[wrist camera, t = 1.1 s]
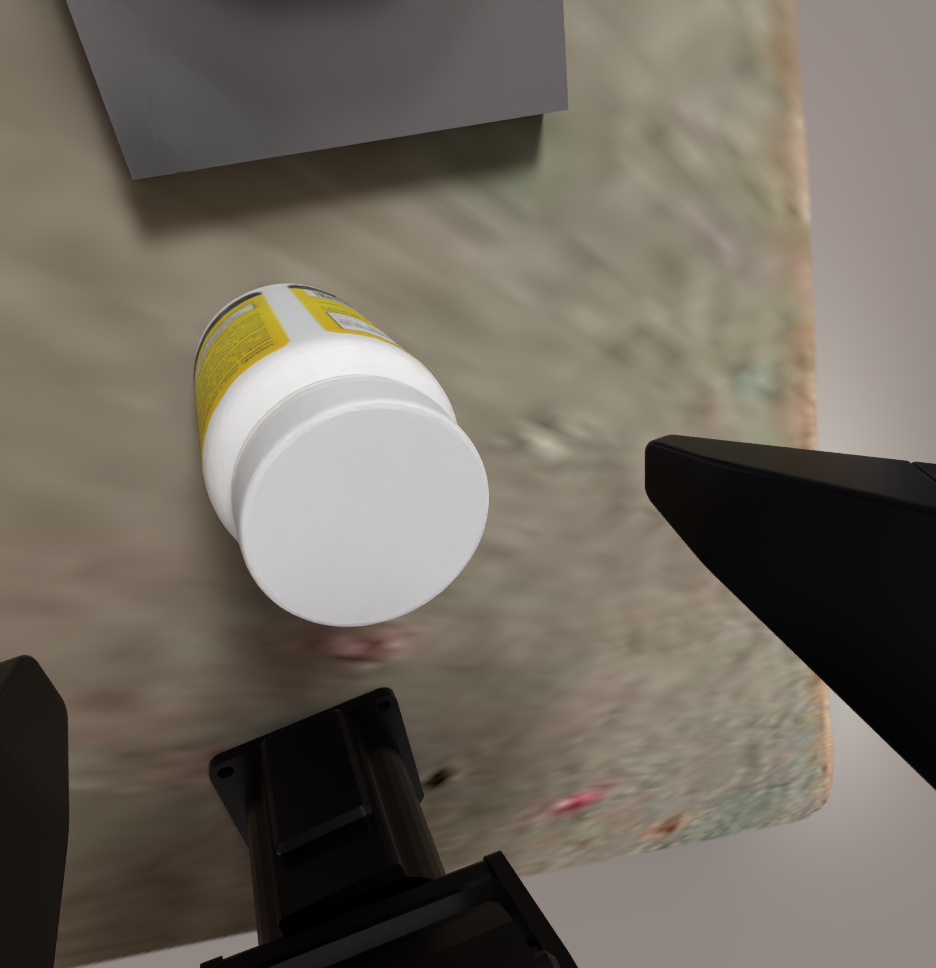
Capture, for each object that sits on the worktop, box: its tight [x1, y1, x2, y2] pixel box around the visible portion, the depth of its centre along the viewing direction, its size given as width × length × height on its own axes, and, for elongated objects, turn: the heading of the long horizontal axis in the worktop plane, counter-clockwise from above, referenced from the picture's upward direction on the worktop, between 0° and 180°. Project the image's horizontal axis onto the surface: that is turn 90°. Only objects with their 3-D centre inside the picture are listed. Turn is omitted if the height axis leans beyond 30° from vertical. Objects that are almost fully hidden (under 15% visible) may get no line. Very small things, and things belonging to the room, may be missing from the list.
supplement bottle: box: [194, 284, 489, 627], centre depth 13 cm, size 5×5×8 cm
